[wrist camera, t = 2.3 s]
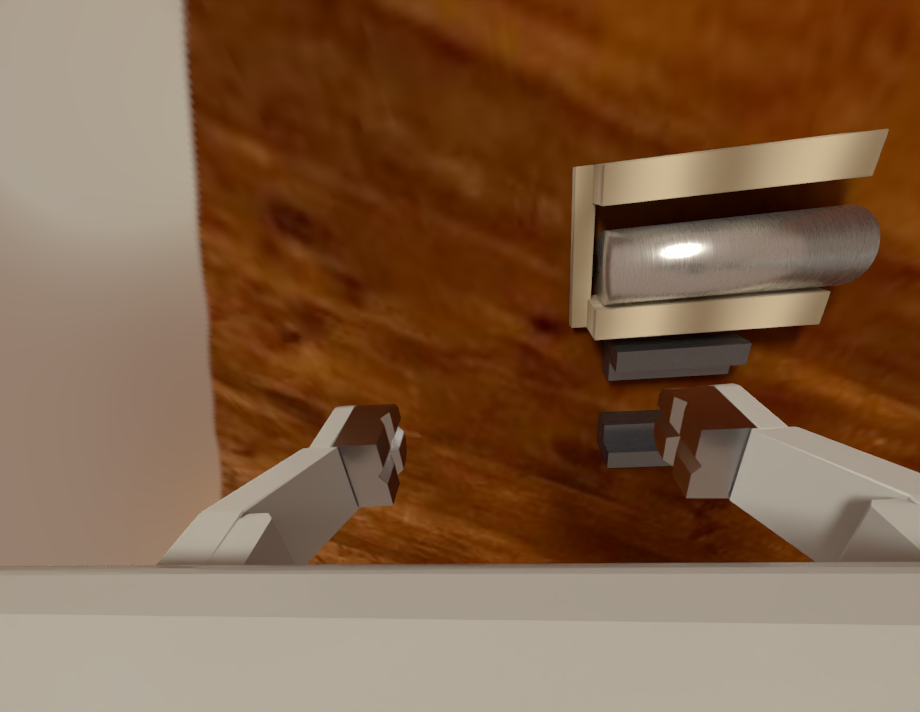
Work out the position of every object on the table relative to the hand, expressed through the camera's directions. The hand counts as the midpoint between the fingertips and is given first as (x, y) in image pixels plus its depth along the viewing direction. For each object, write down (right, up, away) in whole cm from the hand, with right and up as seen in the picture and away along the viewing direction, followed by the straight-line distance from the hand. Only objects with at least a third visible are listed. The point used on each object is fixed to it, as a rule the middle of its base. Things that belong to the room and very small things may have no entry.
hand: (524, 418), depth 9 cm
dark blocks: (+13, -1, +19) cm, 23 cm away
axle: (+14, +7, +12) cm, 20 cm away
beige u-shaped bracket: (+13, +9, +14) cm, 21 cm away
